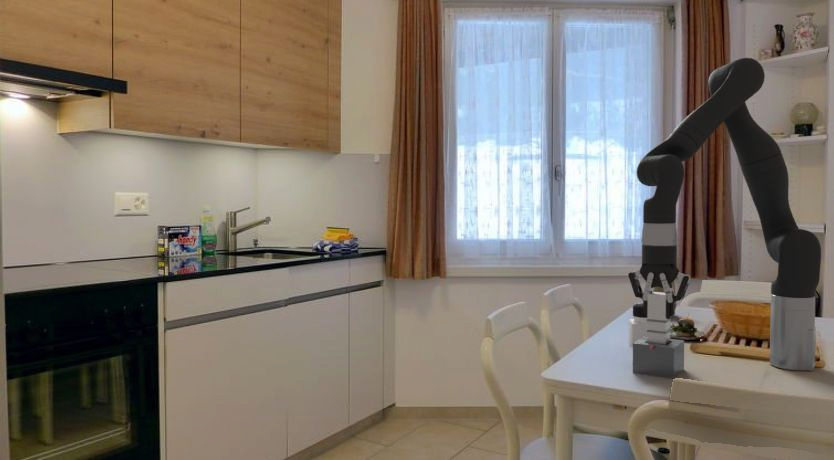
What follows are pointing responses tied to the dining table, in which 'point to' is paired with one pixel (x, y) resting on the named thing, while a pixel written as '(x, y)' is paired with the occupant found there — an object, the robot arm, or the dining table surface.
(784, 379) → the dining table surface
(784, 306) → the robot arm
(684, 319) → the burger
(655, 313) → the column
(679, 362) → the sleeve
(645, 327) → the medicine bottle
